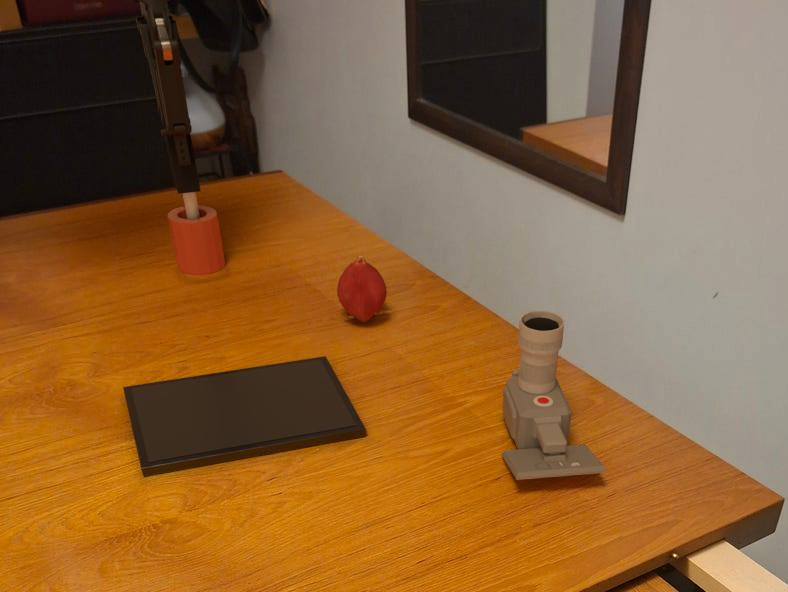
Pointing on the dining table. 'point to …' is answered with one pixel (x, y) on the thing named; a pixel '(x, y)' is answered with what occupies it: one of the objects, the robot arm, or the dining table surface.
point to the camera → (541, 407)
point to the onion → (361, 290)
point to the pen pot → (197, 241)
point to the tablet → (239, 415)
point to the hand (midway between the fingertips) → (187, 188)
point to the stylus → (191, 205)
